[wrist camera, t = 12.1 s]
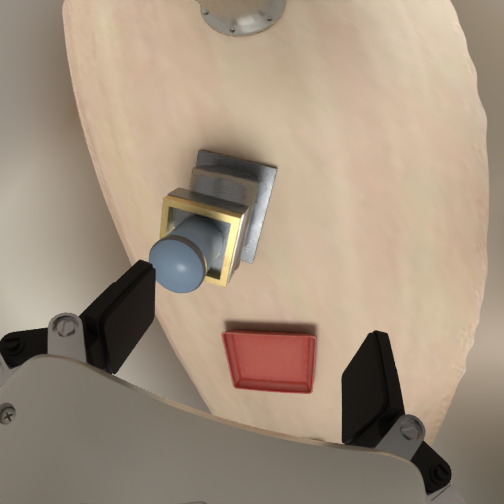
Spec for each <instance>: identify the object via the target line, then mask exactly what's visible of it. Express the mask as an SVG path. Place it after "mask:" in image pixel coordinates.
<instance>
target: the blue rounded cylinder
mask: <svg viewBox="0 0 504 504" xmlns="http://www.w3.org/2000/svg"><path fill="white" fill-rule="evenodd" d="M221 249H222V236H221V234H220V231H219V230H218V228H217V227H216V226H215V225H214V224H213V223H212V222H211V221H209V220H208V219H205V218H203V217H190V218H187V219H185V220H184V221H183V222H182V223H180V224H179V225H178V226H177V227H176V228H175V229H173V230H172V231H171V232H170V233H169V234H168V235H167V236H165V237H163V238H161V239H160V240H159V241H158V242H156V243H155V244H154V245H153V247H152V248H151V251H150V254H149V263H152V264H153V268H155V269H156V280H157V282H158V283H159V284H160V285H162V286H163V287H164V288H166V289H168V290H170V291H172V292H176V293H188V292H191V291H194V290H196V289H197V288H198V287H199V286H200V285H201V283H202V282H203V280H204V279H205V276H206V273H207V271H208V270H209V268H210V267H211V265H212V264H213V262H214V261H215V259H216V258H217V256H218V255H219V253H220V251H221Z"/></svg>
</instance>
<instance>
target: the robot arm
mask: <svg viewBox="0 0 504 504" xmlns="http://www.w3.org/2000/svg"><path fill="white" fill-rule="evenodd" d="M196 1H197V2H198V3H199V4H201V5H200V6H201V14H202V17H203V18H204V20H205V22H206V23H207V24H208V25H209V26H210V27H211V28H213V29H214V30H216V31H218V32H219V33H222V34H225V35H229V36H249V35H253V34H256V33H259V32H262V31H264V30H266V29H267V28H269V27H270V26H272V25H273V24H274V23H275V22H276V21H277V20H278V19H279V18H280V16H281V15H282V13H283V10H284V8H285V0H196ZM208 13H209V14H208ZM207 14H208V15H207ZM270 19H271V21H268V20H270ZM234 30H235V32H233V31H234ZM155 281H156V269H155V268H153V264H152V263H149V262H146V261H143V260H139V261H137V262H136V263H135V264H134V265H133V266H132V267H131V268H130V269H129V270H128V271H127V272H126V273H125V274H124V275H122V276H121V277H120V278H119V279H118V280H117V281H116V282H114V283H112V284H111V285H110V286H109V287H108V288H107V289H106V290H105V291H104V292H103V293H102V294H101V295H100V296H99V297H98V298H97V299H96V300H95V301H94V302H93V303H92V304H91V305H90V306H89V307H88V308H87V309H86V310H85V311H84V312H83V313H82V314H81V315H80V316H79V317H78V316H76V315H75V314H72V313H61V314H58V315H56V316H55V317H54V318H52V319H51V321H50V322H49V326H48V328H41V329H33V330H26V331H17V332H12V333H8V334H7V335H5V336H4V337H3V338H2V339H1V341H0V504H466V503H465V501H464V500H463V498H462V496H461V494H460V493H459V491H458V489H457V487H456V486H455V484H454V483H452V484H451V483H450V480H451V475H452V474H451V469H450V466H449V465H448V463H447V462H446V461H445V460H443V458H441V457H440V456H439V455H438V454H437V453H436V452H435V451H434V450H433V449H432V448H431V447H430V446H429V445H428V444H427V443H426V442H424V441H423V439H424V437H425V428H424V425H423V423H422V422H421V421H420V420H419V418H417V417H415V416H413V415H410V414H406V415H405V410H404V405H403V399H402V393H401V388H400V383H399V378H398V373H397V369H396V366H395V362H394V357H393V353H392V349H391V344H390V340H389V336H388V334H387V333H385V332H381V331H377V330H375V331H373V333H369V334H368V335H367V337H366V339H365V340H364V342H363V343H362V345H361V347H360V348H359V350H358V351H357V353H356V354H355V356H354V357H353V359H352V360H351V362H350V363H349V365H348V366H347V368H346V369H345V371H344V372H343V374H342V443H345V444H338V443H331V442H325V441H319V440H313V439H307V438H301V437H296V436H291V435H286V434H282V433H277V432H273V431H269V430H264V429H260V428H256V427H252V426H249V425H245V424H241V423H238V422H234V421H231V420H227V419H224V418H221V417H218V416H214V415H211V414H208V413H205V412H202V411H199V410H196V409H194V408H191V407H188V406H185V405H182V404H180V403H177V402H174V401H172V400H169V399H167V398H164V397H161V396H159V395H157V394H154V393H152V392H150V391H147V390H145V389H143V388H140V387H138V386H136V385H134V384H131V383H129V382H127V381H125V380H122V379H120V378H118V377H116V376H114V375H112V373H113V374H116V373H117V372H118V370H119V368H120V367H121V366H122V364H123V363H124V362H125V360H126V359H127V357H128V356H129V354H130V353H131V351H132V350H133V349H134V347H135V346H136V344H137V343H138V341H139V340H140V339H141V337H142V336H143V334H144V333H145V332H146V330H147V329H148V327H149V326H150V325H151V323H152V322H153V319H154V315H155Z"/></svg>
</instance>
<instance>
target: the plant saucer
mask: <svg viewBox="0 0 504 504" xmlns="http://www.w3.org/2000/svg"><path fill="white" fill-rule="evenodd" d="M222 340H223V344H224V349H225V353H226V358H227V362H228V366H229V371H230V375H231V379H232V384H233V387H234V388H236V389H244V390H254V391H267V392H281V393H301V394H310V393H312V392H313V382H314V371H315V358H316V344H317V338H316V337H315V336H313V335H311V334H307V333H282V332H260V331H243V330H231V331H226V332H223V333H222Z"/></svg>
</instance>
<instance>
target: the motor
mask: <svg viewBox="0 0 504 504" xmlns="http://www.w3.org/2000/svg"><path fill="white" fill-rule="evenodd" d="M276 172H277V168H274V167H271V166H267V165H263V164H259V163H255V162H252V161H248V160H244V159H239V158H235V157H231V156H227V155H222V154H218V153H214V152H209V151H204V150H199V153H198V158H197V164H196V167H194V168H193V171H192V177H191V183H190V189H189V190H186V189H182V188H177V189H175V190H174V191H172V192H170V193H169V194H168V196H166V197H164V198H163V207H162V217H161V228H160V239H161V238H163V237H165V236H167V235H168V234H169V233H170V232H171V231H172V230H173V229H175V228H176V227H177V226H178V225H179V224H180V223H182V222H183V221H184V220H185V219H187V218H190V217H203V218H205V219H208V220H209V221H211V222H212V223H213V224H214V225H215V226H216V227H217V228H218V230H219V231H220V234H221V236H222V249H221V251H220V253H219V255H218V256H217V258H216V259H215V261H214V262H213V264H212V265H211V267H210V268H209V270H208V271H207V273H206V276H205V279H204V280H203V281H206V282H209V283H212V284H215V285H219V286H222V287H226V285H227V283H229V281H230V279H231V277H232V275H233V273H234V271H235V270H236V269H237V268H238V267H239V265H240V260H241V261H245V262H248V263H251V264H252V263H253V260H254V256H255V252H256V249H257V245H258V241H259V237H260V233H261V230H262V226H263V222H264V218H265V214H266V210H267V207H268V203H269V199H270V195H271V191H272V187H273V184H274V180H275V176H276Z"/></svg>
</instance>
